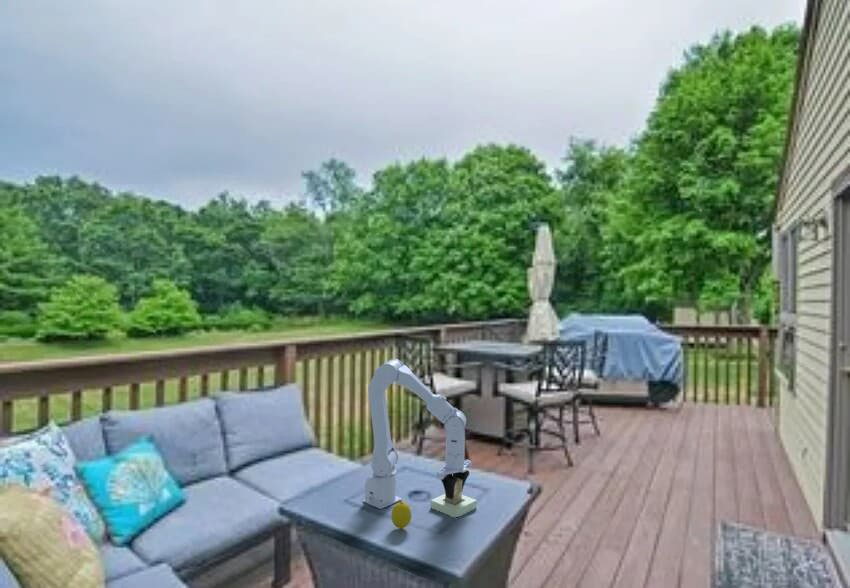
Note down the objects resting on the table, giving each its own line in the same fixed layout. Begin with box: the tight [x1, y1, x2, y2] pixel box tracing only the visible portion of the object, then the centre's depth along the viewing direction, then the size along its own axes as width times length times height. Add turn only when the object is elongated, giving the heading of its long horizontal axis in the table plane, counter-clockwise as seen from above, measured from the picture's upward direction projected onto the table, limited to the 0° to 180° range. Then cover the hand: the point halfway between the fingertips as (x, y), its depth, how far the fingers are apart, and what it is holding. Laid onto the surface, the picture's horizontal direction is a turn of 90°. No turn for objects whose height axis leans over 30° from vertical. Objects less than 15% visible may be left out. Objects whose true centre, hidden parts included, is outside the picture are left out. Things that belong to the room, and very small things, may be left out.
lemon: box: [391, 500, 412, 530], centre depth 164 cm, size 6×6×8 cm
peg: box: [444, 477, 463, 505], centre depth 178 cm, size 4×4×8 cm
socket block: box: [430, 493, 478, 518], centre depth 178 cm, size 10×10×2 cm
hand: (453, 495), depth 178 cm, fingers closed on peg, 4 cm apart
